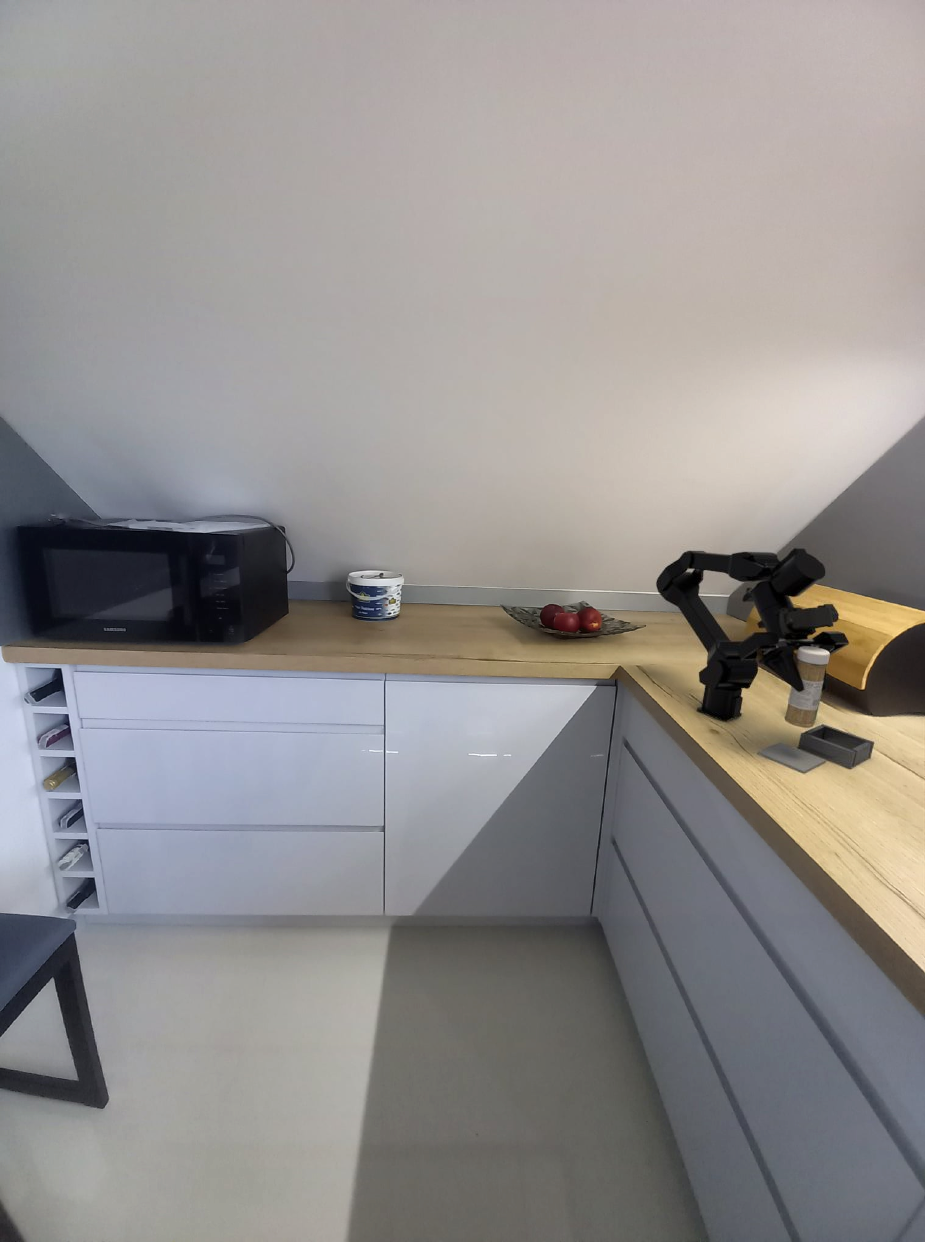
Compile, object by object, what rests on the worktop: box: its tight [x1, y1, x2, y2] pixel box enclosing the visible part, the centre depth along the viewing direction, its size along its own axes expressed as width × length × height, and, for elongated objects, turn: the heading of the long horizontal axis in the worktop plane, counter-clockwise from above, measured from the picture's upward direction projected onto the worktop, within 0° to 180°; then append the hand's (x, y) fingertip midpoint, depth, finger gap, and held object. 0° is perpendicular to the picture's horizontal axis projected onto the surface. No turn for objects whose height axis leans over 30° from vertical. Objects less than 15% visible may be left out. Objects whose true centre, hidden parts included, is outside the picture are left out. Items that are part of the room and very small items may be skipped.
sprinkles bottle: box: [784, 646, 831, 729], centre depth 97 cm, size 5×5×14 cm
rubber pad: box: [756, 741, 827, 774], centre depth 100 cm, size 8×8×1 cm
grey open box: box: [797, 723, 875, 770], centre depth 102 cm, size 9×9×3 cm
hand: (812, 690), depth 95 cm, fingers closed on sprinkles bottle, 4 cm apart
